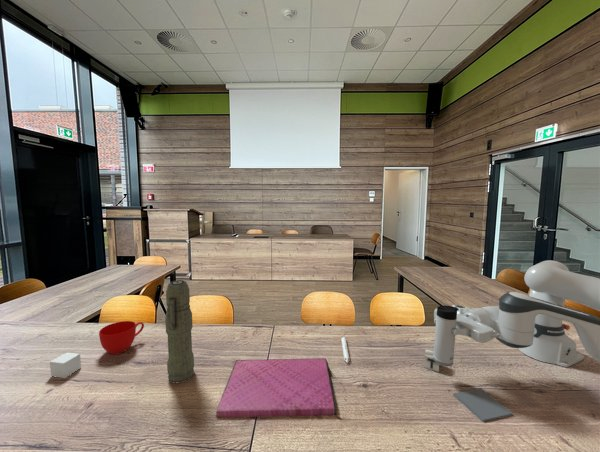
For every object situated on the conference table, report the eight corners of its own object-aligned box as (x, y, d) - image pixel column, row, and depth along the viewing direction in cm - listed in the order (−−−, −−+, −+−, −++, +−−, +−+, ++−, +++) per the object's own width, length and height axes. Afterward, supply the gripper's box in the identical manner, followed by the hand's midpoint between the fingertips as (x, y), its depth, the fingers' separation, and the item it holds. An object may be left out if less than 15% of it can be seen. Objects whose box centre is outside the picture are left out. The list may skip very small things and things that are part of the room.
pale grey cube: (81, 368, 101) (80, 353, 101) (65, 379, 96) (63, 363, 95) (67, 367, 102) (66, 352, 102) (51, 377, 97) (49, 361, 96)
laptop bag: (214, 406, 78) (235, 355, 105) (215, 419, 78) (235, 365, 106) (350, 403, 79) (336, 353, 106) (350, 416, 79) (336, 363, 106)
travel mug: (456, 368, 91) (461, 311, 89) (435, 365, 92) (440, 309, 90) (450, 357, 97) (454, 304, 95) (430, 355, 98) (434, 302, 96)
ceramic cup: (152, 343, 119) (150, 322, 118) (109, 362, 105) (107, 338, 104) (137, 335, 126) (135, 315, 125) (94, 352, 112) (93, 330, 111)
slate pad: (480, 389, 90) (480, 388, 90) (513, 415, 79) (513, 413, 79) (453, 395, 88) (453, 393, 88) (482, 421, 77) (483, 420, 77)
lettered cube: (425, 361, 106) (425, 349, 106) (439, 364, 104) (439, 352, 104) (424, 368, 102) (424, 356, 101) (438, 372, 99) (439, 359, 99)
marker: (350, 365, 104) (350, 359, 104) (344, 365, 104) (344, 359, 104) (345, 341, 122) (345, 336, 122) (341, 341, 122) (341, 336, 122)
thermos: (197, 364, 104) (194, 276, 101) (189, 384, 92) (185, 286, 89) (173, 366, 103) (170, 277, 100) (162, 387, 91) (157, 287, 88)
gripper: (502, 344, 88) (470, 351, 84) (450, 318, 107) (422, 322, 103) (503, 326, 87) (471, 332, 83) (451, 302, 106) (423, 306, 102)
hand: (444, 326), depth 93 cm, fingers closed on travel mug, 6 cm apart
